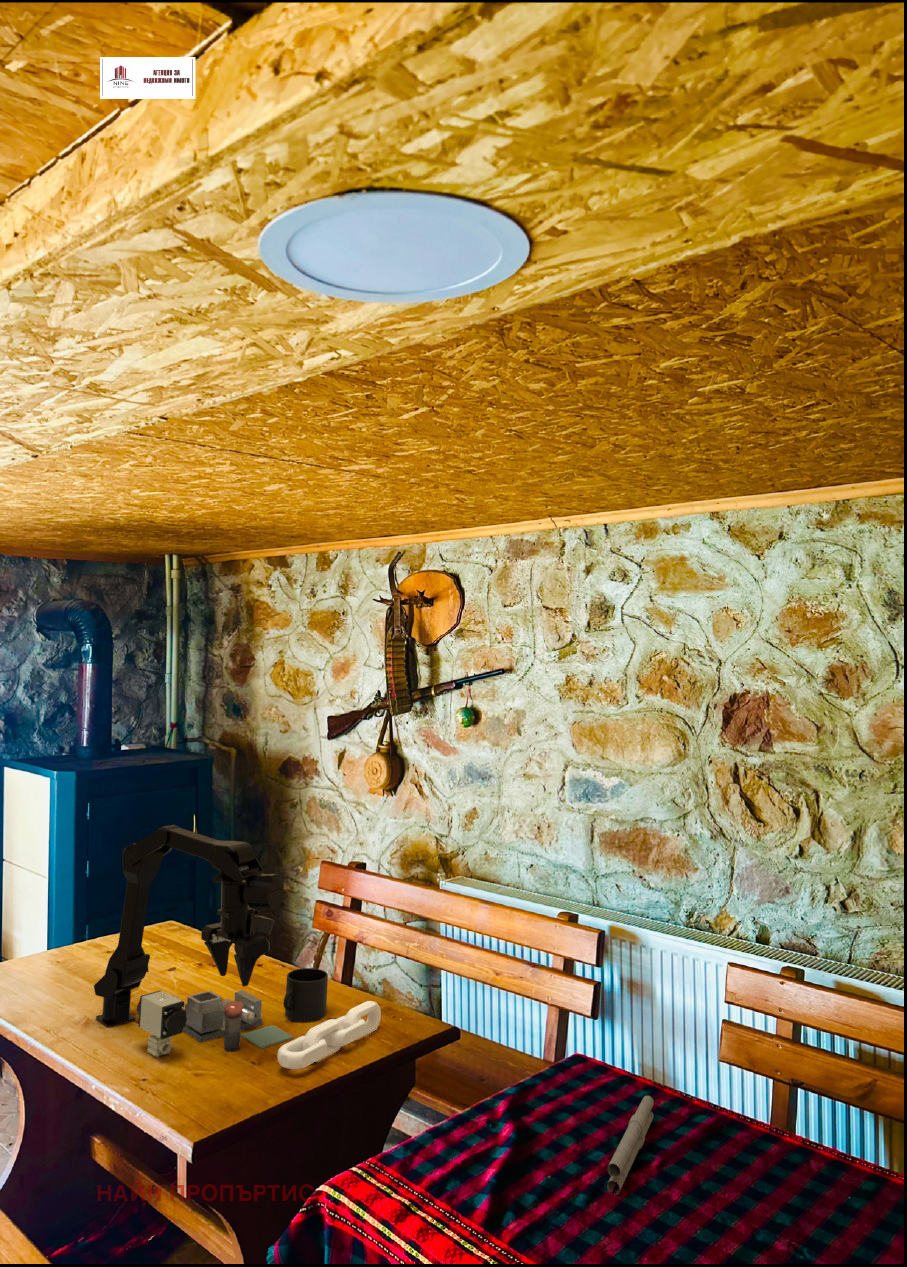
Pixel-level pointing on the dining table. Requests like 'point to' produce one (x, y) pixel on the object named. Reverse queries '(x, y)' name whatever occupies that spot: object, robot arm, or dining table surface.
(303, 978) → the mug
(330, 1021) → the chain
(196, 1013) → the bracket
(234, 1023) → the round metal peg
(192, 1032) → the clamp base
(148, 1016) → the pneumatic valve
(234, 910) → the robot arm
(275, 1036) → the mat
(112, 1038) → the dining table surface
